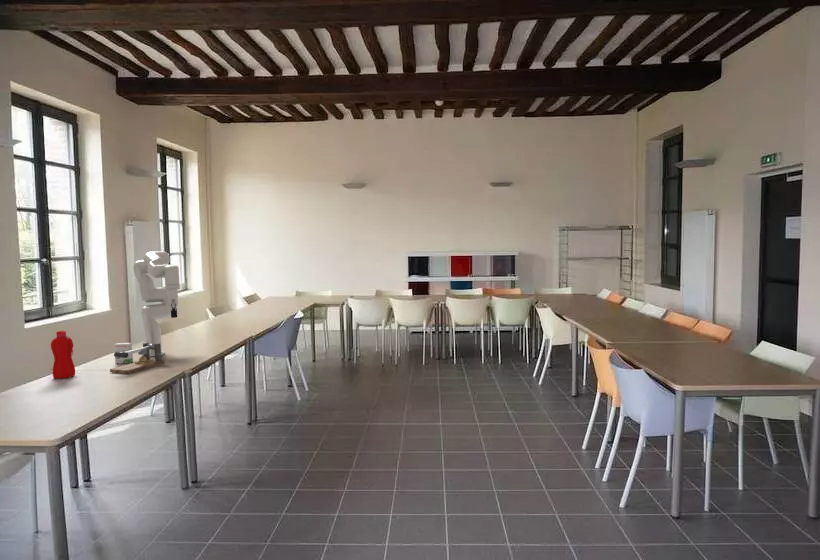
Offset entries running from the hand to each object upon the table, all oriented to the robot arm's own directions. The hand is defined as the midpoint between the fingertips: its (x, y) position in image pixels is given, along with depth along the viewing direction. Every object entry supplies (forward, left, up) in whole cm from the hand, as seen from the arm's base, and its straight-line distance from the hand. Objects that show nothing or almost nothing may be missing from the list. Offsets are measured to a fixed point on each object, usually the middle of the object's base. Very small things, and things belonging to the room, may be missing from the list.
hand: (174, 316), depth 325 cm
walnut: (-16, -9, -24) cm, 30 cm away
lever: (-16, -13, -21) cm, 29 cm away
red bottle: (-38, -40, -28) cm, 62 cm away
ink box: (-34, -5, -28) cm, 45 cm away
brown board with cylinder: (-16, -13, -28) cm, 35 cm away
